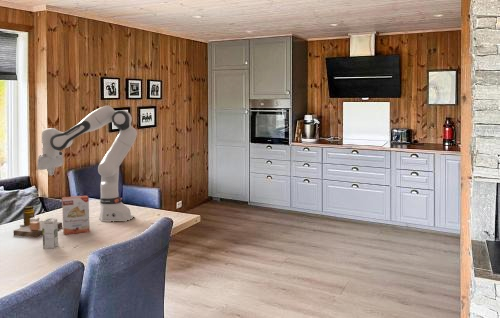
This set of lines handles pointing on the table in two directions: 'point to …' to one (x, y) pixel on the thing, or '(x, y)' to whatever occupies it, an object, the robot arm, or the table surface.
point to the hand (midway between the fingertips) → (51, 175)
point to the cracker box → (75, 214)
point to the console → (32, 231)
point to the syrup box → (50, 233)
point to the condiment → (27, 215)
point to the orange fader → (34, 225)
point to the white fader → (34, 219)
